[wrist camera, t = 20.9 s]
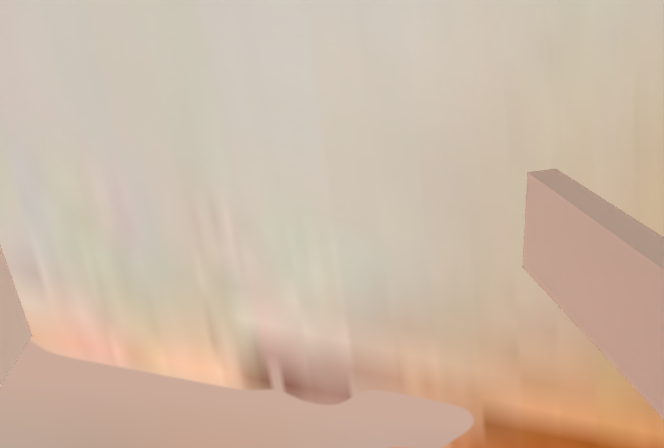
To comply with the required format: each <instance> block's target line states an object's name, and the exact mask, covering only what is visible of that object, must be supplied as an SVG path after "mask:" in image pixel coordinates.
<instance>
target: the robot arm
mask: <svg viewBox="0 0 664 448" xmlns="http://www.w3.org/2000/svg"><path fill="white" fill-rule="evenodd" d="M522 267H523V268H524V269H525V270H526V271H527V273H528V274H529V275H530V276H531V277H532V278H533V279H534V280H535V281H536V282H537V283H538V284H539V286H540V287H541V288H542V289H543V290H544V291H545V292H546V293H547V294H548V295H549V296H550V297H551V298H552V300H553V301H554V302H555V303H556V304H557V305H558V306H559V307H560V308H561V309H562V310H563V311H564V313H565V314H566V315H567V316H568V317H569V318H570V319H571V320H572V321H573V322H574V323H575V324H576V326H577V327H578V328H579V329H580V330H581V331H582V332H583V333H584V334H585V335H586V336H587V337H588V339H589V340H590V341H591V342H592V343H593V344H594V345H595V346H596V347H597V348H598V349H599V350H600V351H601V353H602V354H603V355H604V356H605V357H606V358H607V359H608V360H609V361H610V362H611V363H612V364H613V366H614V367H615V368H616V369H617V370H618V371H619V372H620V373H621V374H622V375H623V376H624V377H625V379H626V380H627V381H628V382H629V383H630V384H631V385H632V386H633V387H634V388H635V389H636V390H637V391H638V393H639V394H640V395H641V396H642V397H643V398H644V399H645V400H646V401H647V402H648V403H649V404H650V406H651V407H652V408H653V409H654V410H655V411H656V412H657V413H658V414H659V415H660V416H661V417H662V419H663V420H664V237H662V236H661V235H659V234H658V233H656V232H654V231H653V230H651V229H650V228H648V227H647V226H645V225H643V224H642V223H640V222H639V221H637V220H636V219H634V218H633V217H631V216H629V215H628V214H626V213H625V212H623V211H622V210H620V209H618V208H617V207H615V206H614V205H612V204H611V203H609V202H607V201H606V200H604V199H603V198H601V197H600V196H598V195H596V194H595V193H593V192H592V191H590V190H589V189H587V188H585V187H584V186H582V185H581V184H579V183H578V182H576V181H574V180H573V179H571V178H570V177H568V176H567V175H565V174H563V173H562V172H560V171H559V170H557V169H551V170H543V171H535V172H528V174H527V193H526V211H525V230H524V248H523V266H522ZM31 336H32V334H31V331H30V328H29V325H28V322H27V319H26V317H25V314H24V311H23V308H22V305H21V302H20V300H19V297H18V294H17V291H16V288H15V285H14V283H13V280H12V277H11V274H10V271H9V268H8V266H7V263H6V260H5V257H4V254H3V251H2V249H1V246H0V387H1V385H2V384H3V382H4V381H5V379H6V377H7V376H8V374H9V372H10V371H11V369H12V367H13V366H14V364H15V363H16V361H17V359H18V358H19V356H20V354H21V353H22V351H23V350H24V348H25V346H26V345H27V343H28V341H29V340H30V338H31Z"/></svg>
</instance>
